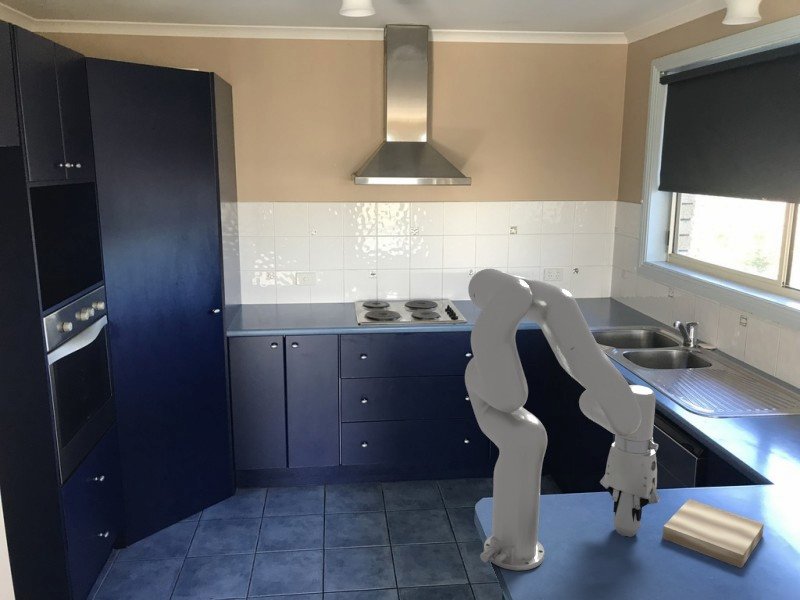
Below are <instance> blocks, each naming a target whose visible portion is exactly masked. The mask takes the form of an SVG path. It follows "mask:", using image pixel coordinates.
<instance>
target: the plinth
mask: <svg viewBox="0 0 800 600" xmlns="http://www.w3.org/2000/svg"><path fill="white" fill-rule="evenodd" d="M764 528H765V523H763V522H760V521H758V520H754V519H751V518H748V517H746V516H742V515H739V514H737V513H736V514H735V513H734V512H730V511H728V510H723V509H721V508H718V507H716V506H715V507H714V506H712V505H709V504H706V503H704V502H703V503H702V502H699V501H698V500H694V499H692V498H689V499H687V501H686V502H685V503H684V504H683V505H681V507H680V508H679V509H678V510H677V511H676V512H675V513H674V514H673V515H672V516H671V518H670V519H669V520H667V522H666V523H664V525H663V527H662V539H663V540H665V541H668V542H670V543H671V542H672V543H674V544H677V545H678V546H679V545H680V546H682V547H684V548H687V549H689V550H692V551H695V552H698V553H699V554H702V555H706V556H708V557H711V558H713V559H716V560H719V561H721V562H722V563H723V562H724V563H726V564H728V565H731V566H735V567H737V568H739V569H742V568H743V567H744V565H745V563H746V562H747V560H748V559H749V558H750V556H751V555H752V553H753V551H754V550H755V549H756V547H757V545H758V544H759V542H760V540H761V539H762V537H763V536H764V535H763V534H764Z"/></svg>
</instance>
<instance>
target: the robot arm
mask: <svg viewBox="0 0 800 600" xmlns="http://www.w3.org/2000/svg"><path fill="white" fill-rule="evenodd" d="M467 290H468V291H467V292H468V296H469V298H470V300H471V302H472V304H474V305H475V306H476V307H477V308H479V309H481V311H480V312H479V314H478V315H477V318H476V319H475V322H474V324H473V327H472V329H471V333H470V346H471V347H470V348H471V351H472V355H473V357H472V358H471V359H470V360H469V362H468V363H467V365H466V369H465V373H464V383H465V384H464V385H465V387H466V391H467V393H468V397H469V401H470V402H471V406H472V409H473V413H474V415H475V418H476V421H477V423H478V426H479V428H480V430H481V432H482V433H483V434H484V435H485V436H486V437H487V438H488V439H489V440H490V441H491V442H492V443H494V444H495V446H496V447H497V448H498V450H499V453H498V454H499V455H498V458H497V460H496V463H495V466H494V470H493V483H492V484H493V491H492V492H493V493H492V520H491V522H492V523H491V535H490V536H489V537H487V538H486V539H485V541H484V544H483V552H481V553H480V555H479V557H480V560H481V561H482V562H483V563H488V561H490V562H491V563H492V564H494V565H495V566H497V567H499V568H503V569H506V570H510V571H529V570H532V569H534V568H536V567H538V566H540V565H541V564H542V563H543V562H544V560H545V553H546V552H545V548H544V547H543V545H542V544H541V542H539V541H538V539H539V538H538V537H539V522H540V521H539V520H540V519H539V517H540V504H541V503H540V502H541V501H540V498H541V479H542V469H543V462H544V457H545V454H546V450H547V446H548V435H547V431H546V428H545V426H544V425H543V423H542V422H541V420H540V419H539V418H538V417H536V416H535V415H534V414H533V413H532V412H530V411H528V410H527V409H526V408H524V406H525V404H526V402H527V400H528V395H529V387H528V383H527V378H526V376H525V371H524V369H523V366H522V363H521V358H520V355H519V352H518V348H517V343H516V334H517V331H518V328H519V326H520V324H521V323H522V322H523V320H524V319H526V320H528V321H531V322H533V323H536V324H537V325H538V326H539V328H540V329H541V331H542V333H543V335H544V337H545V338H546V340H547V342H548V344H549V346H550V348H551V350H552V352H553V353H554V355H555V358H556V360H557V361H558V363H559V365H560V366H561V367H562V368H563V370H564V371H565V372H566V373H567V374H568V375H570V377H571V378H572V379H574V380H575V381H576V382H578V384H580V385H581V386H582V387H583V388H584V389H585V390H584V391H583V392H582V393H581V395H580V396H579V400H578V404H579V409H580V411H581V412H582V413H583V415H584V416H585V417H587V418H588V419H589V420H591V421H593V422H594V423H596V424H597V425H599V426H601V427H603V429H606V430H607V431H609V432H610V433H612V434H614V435H615V437H614V441H613V442H612V443H611V447H610V449H609V453H608V456H607V461H606V468H605V474H604V475H603V477H602V478H601V479H600V481H599V483H600V484H601V485H602V486H603V487H604V489H606V490H607V492H608V493H609V495H610V496H611V498H612V501H613V510H612V511H613V513H614V515H616V512H617V508H618V504H619V498H620V495H621V492H622V491H624V492H626V493H629V494H632V495H634V507H635V508H632V517H633V522H634V517H635V514H636V519H637V521H641V520H642V511H643V507H645V506H648V505H652V504H657V503H659V502H661V501H660V500H661V499H660V496H659V494H658V491H657V486H658V485H657V484H658V465H657V456H656V454H657V453H656V451H657V450H658V449H659V444H658V443H656V442H654V437H653V433H654V422H655V412H656V398H657V397H656V392H654V390H653V389H651V388H650V387H648V386H643V385H639V384H629V383H628V381H627V380H626V378H625V377H624V376H623V374H622V373H621V372H620V370H619V369H618V368H617V367H616V366H615V365H614V364H613V362H612V361H611V359H610V358H609V356H608V355H607V354H606V353H605V352H604V351H603V350H602V348H601V347H600V346H599V344H598V342H597V340H596V338H595V336H594V334H593V332H592V330H591V329H590V326H589V324H588V322H587V320H586V318H585V317H584V314H583V313H582V310H581V308H580V306H579V304H578V302H577V301H576V300H577V299H576V298H575V297H574V296H573V294H572V293H570V292H569V291H568V290H566V289H565V288H563V287H560V286H556V285H553V284H551V283H547V282H544V281H539V280H536V279H531V278H527V277H523V276H519V275H516V274H512V273H509V272H505V271H502V270H498V269H495V268H485V269H481V270H479V271H477V272H476V273H474V275H473V276H472V277H471V279H470V281H469V282H468V289H467ZM626 488H627V491H626V490H625V489H626Z"/></svg>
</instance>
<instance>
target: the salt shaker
mask: <svg viewBox="0 0 800 600" xmlns="http://www.w3.org/2000/svg"><path fill="white" fill-rule="evenodd" d="M625 490H626V491H627V488H626V489H625ZM632 508H635V507H634V495H632V494H629V493H626V492H624V491H622V492H621V495H620V498H619V504H618V508H617V512H616V515H615V514H614V515H613V519H612V522H613V526H614V528H615V532H616V533H617V532H618V533H617V534H618V535H620V534H621V535H620V536H622V537H625V536H629V537H628V538H632V537H634V536H635V535H636V534H637V532H639V530H640V528H641V526H642V523H641V520H640V521H637V519H636V514H635V517H634V522H633V517H632Z"/></svg>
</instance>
